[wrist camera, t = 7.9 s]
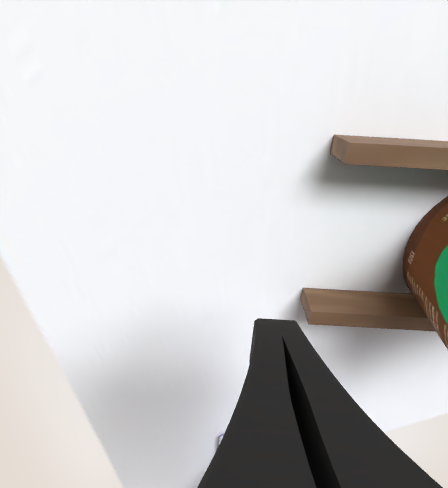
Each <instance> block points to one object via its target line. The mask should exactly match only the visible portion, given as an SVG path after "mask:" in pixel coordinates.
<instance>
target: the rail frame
mask: <svg viewBox="0 0 448 488" xmlns="http://www.w3.org/2000/svg"><path fill="white" fill-rule="evenodd" d="M330 154H331V155H333V156H334V157H336V158H337V159H338V160H340V161H341V162H343V163H344V164H354V165H371V166H389V167H406V168H424V169H441V170H448V141H433V140H415V139H398V138H380V137H363V136H345V135H334V138H333V143H332V148H331V153H330ZM301 302H302V305H303V308H304V311H305V314H306V317H307V320H308V324H315V325H333V326H351V327H369V328H387V329H405V330H423V331H436V330H435V329H434V327H433V325H432V324H431V322H430V321H429V319H428V318H427V316H426V315H425V313H424V311H423V310H422V308H421V307H420V305H419V304H418V302H417V300H416V299H415V297H414V296H413V294H403V293H385V292H367V291H349V290H331V289H313V288H303V292H302V297H301Z"/></svg>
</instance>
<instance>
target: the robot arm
mask: <svg viewBox="0 0 448 488" xmlns="http://www.w3.org/2000/svg"><path fill="white" fill-rule="evenodd" d="M198 488H443V487H441V486H440V485H439V484H438V483H437V482H435V480H433V479H432V478H431V477H430V476H429V475H428V474H427V473H426V472H425V471H424V470H422V469H421V468H420V467H419V466H418V465H417V464H416V463H415V462H414V461H413V460H412V459H411V458H409V457H408V456H407V455H406V454H405V453H404V452H403V451H402V450H401V449H400V448H399V447H398V446H397V445H396V444H394V442H393V441H392V440H391V439H390V438H388V436H386V435H385V433H384V432H383V431H382V430H381V429H380V428H379V427H378V426H377V425H376V424H375V423H374V422H373V421H372V420H371V419H370V418H369V417H368V416H367V414H366V413H365V412H364V411H363V410H362V409H361V408H360V407H359V405H358V404H357V403H356V402H355V401H354V400H353V398H352V397H351V396H350V395H349V394H348V392H347V391H346V390H345V389H344V388H343V386H342V385H341V384H340V383H339V381H338V380H337V379H336V378H335V376H334V375H333V374H332V372H331V371H330V370H329V368H328V367H327V366H326V364H325V363H324V362H323V360H322V359H321V358H320V356H319V355H318V353H317V352H316V351H315V349H314V348H313V346H312V345H311V343H310V342H309V340H308V339H307V337H306V336H305V334H304V333H303V331H302V330H301V328H300V327H299V325H298V324H297V322H296V321H294V320H276V319H259V318H258V319H257V320H255V321H254V329H253V337H252V345H251V353H250V365H249V369H248V373H247V376H246V379H245V382H244V385H243V388H242V391H241V394H240V397H239V400H238V402H237V405H236V408H235V410H234V413H233V415H232V418H231V420H230V422H229V425H228V427H227V429H226V431H225V434H224V435H222V436H220V438H219V447H218V449H217V451H216V453H215V455H214V457H213V459H212V461H211V463H210V465H209V467H208V469H207V471H206V472H205V474H204V476H203V478H202V480H201V482H200V484H199V486H198Z"/></svg>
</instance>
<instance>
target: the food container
mask: <svg viewBox="0 0 448 488" xmlns="http://www.w3.org/2000/svg"><path fill="white" fill-rule="evenodd" d="M403 273H404V278H405V281H406V283H407V286H408V288H409V289H410V291H411V293H412V294H413V296H414V297H415V299H416V300H417V302H418V304H419V305H420V307H421V308H422V310H423V311H424V313H425V315H426V316H427V318H428V319H429V321H430V322H431V324H432V325H433V327H434V329H435V330H436V332H437V333H438V335H439V336H440V338H441V340H442V341H443V343H444V344H445V346H446V347H447V349H448V197H446V198H445V199H443V200H442V201H441V202H439V203H438V204H437V205H436V206H434V207H433V208H432V209H431V210H430V211H429V212H428V213H427V214H426V215H425V216H424V217H423V218H422V220H421V221H420V222H419V224H418V225H417V226H416V228H415V229H414V231H413V233H412V234H411V236H410V238H409V241H408V243H407V246H406V248H405V253H404V257H403Z"/></svg>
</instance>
